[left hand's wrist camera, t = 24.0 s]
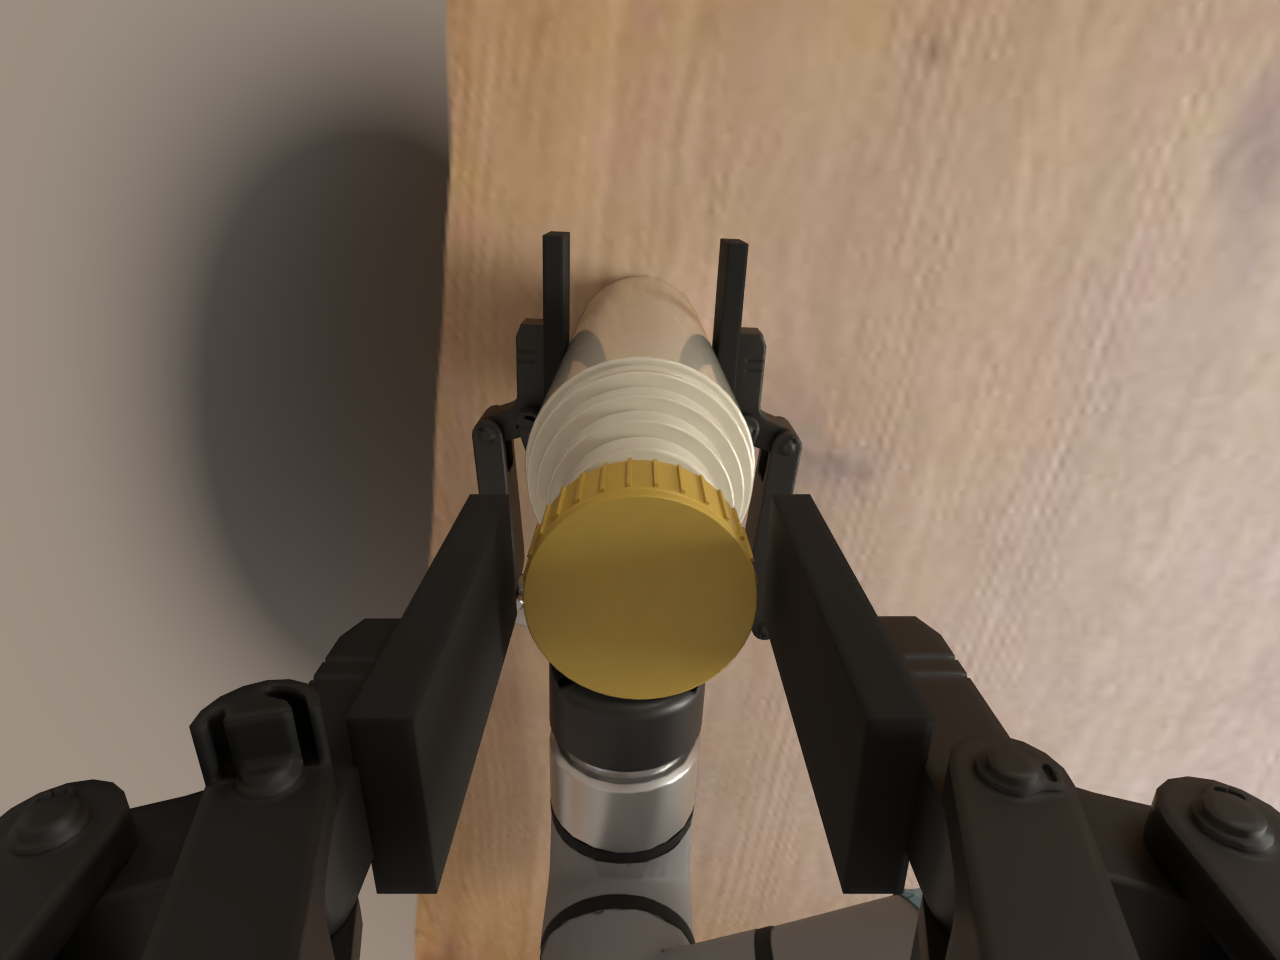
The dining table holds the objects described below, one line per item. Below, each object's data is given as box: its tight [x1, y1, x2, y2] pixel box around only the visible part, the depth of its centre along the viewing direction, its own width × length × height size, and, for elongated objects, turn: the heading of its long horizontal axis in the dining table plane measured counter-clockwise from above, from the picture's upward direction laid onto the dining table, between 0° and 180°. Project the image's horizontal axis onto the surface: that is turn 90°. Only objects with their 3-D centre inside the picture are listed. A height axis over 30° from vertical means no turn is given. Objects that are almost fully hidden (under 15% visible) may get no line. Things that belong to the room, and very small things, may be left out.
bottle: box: [525, 277, 755, 524], centre depth 25 cm, size 6×6×24 cm
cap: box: [523, 458, 758, 699], centre depth 14 cm, size 4×4×2 cm
